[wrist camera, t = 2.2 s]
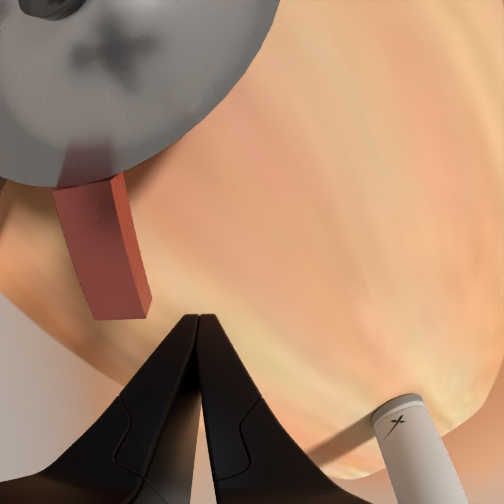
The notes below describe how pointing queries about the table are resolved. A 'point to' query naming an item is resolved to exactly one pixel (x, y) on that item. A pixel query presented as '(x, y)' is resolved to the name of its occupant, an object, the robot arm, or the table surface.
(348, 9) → the table surface
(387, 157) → the table surface
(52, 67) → the lid
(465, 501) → the travel mug
